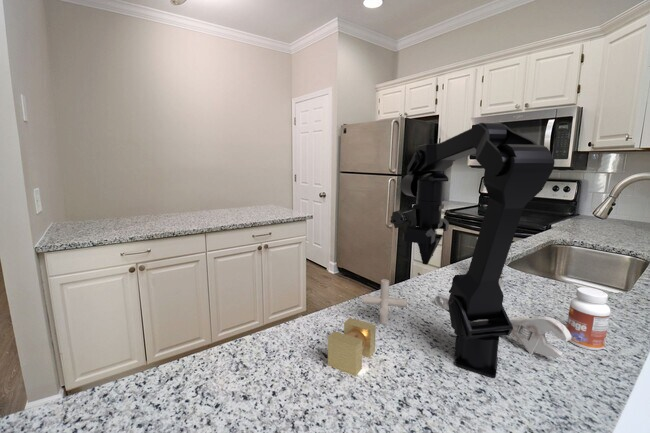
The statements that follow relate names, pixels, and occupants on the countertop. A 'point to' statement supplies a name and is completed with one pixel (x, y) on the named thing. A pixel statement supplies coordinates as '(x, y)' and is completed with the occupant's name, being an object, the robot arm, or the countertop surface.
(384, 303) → the pipe connector
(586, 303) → the pill bottle
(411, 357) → the countertop surface
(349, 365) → the square-ended brass dumbbell
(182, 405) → the countertop surface
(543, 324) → the wrench
